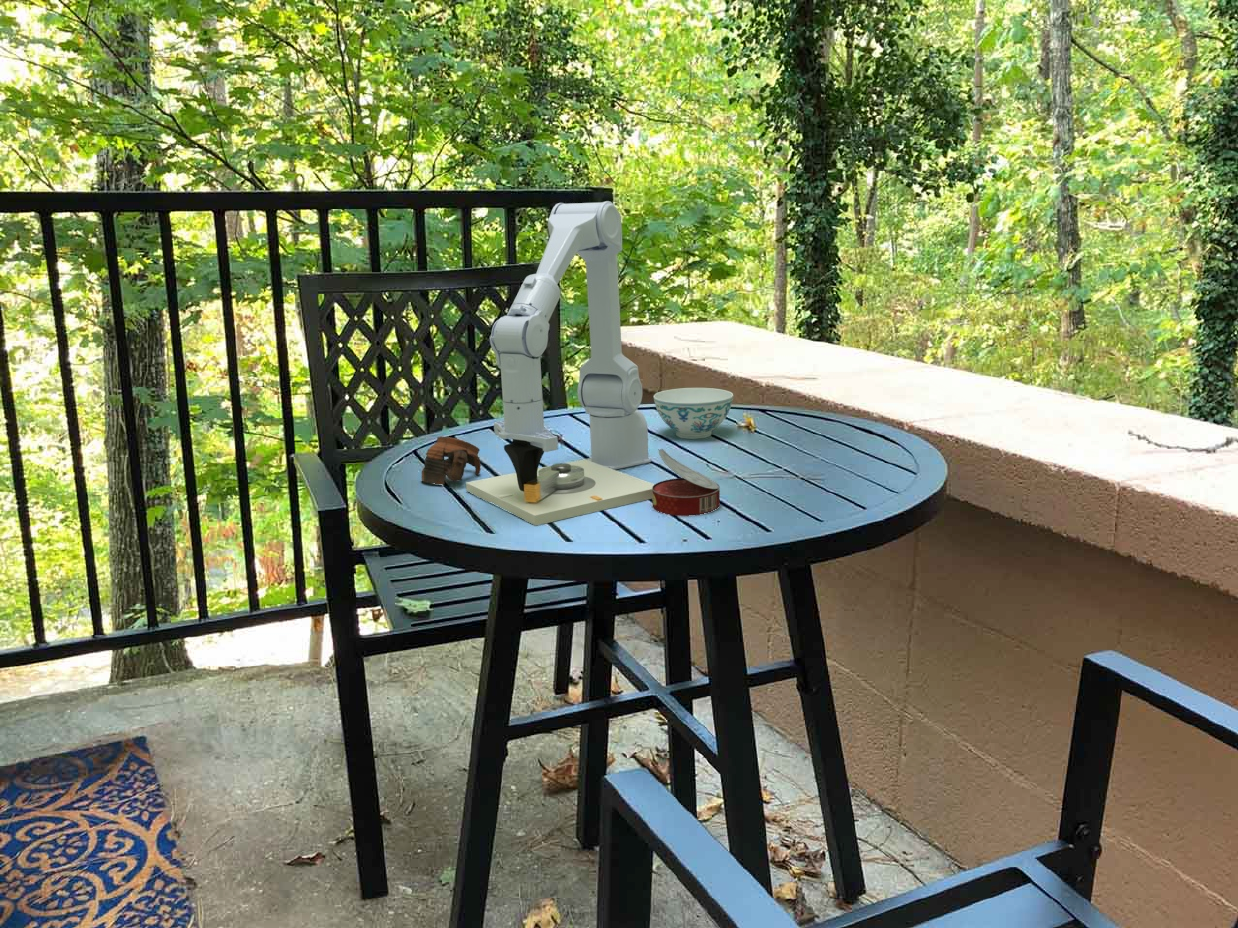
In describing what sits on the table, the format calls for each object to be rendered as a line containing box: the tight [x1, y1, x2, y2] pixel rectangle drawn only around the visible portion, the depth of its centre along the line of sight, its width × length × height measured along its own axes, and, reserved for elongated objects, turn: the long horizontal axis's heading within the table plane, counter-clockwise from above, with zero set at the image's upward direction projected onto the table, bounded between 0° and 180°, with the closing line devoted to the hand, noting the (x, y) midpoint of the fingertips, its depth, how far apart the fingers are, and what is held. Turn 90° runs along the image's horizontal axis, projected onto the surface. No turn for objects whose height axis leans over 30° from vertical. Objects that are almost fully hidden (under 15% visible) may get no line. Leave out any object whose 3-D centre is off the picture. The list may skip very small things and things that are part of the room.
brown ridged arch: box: [421, 436, 482, 485], centre depth 161 cm, size 12×10×8 cm
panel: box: [465, 458, 656, 526], centre depth 152 cm, size 22×22×2 cm
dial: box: [524, 462, 585, 502], centre depth 148 cm, size 14×7×3 cm, turn 158°
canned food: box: [652, 448, 721, 517], centre depth 144 cm, size 11×10×10 cm
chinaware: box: [653, 387, 734, 440], centre depth 187 cm, size 15×15×8 cm
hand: (528, 489), depth 145 cm, fingers closed, pressing on dial
